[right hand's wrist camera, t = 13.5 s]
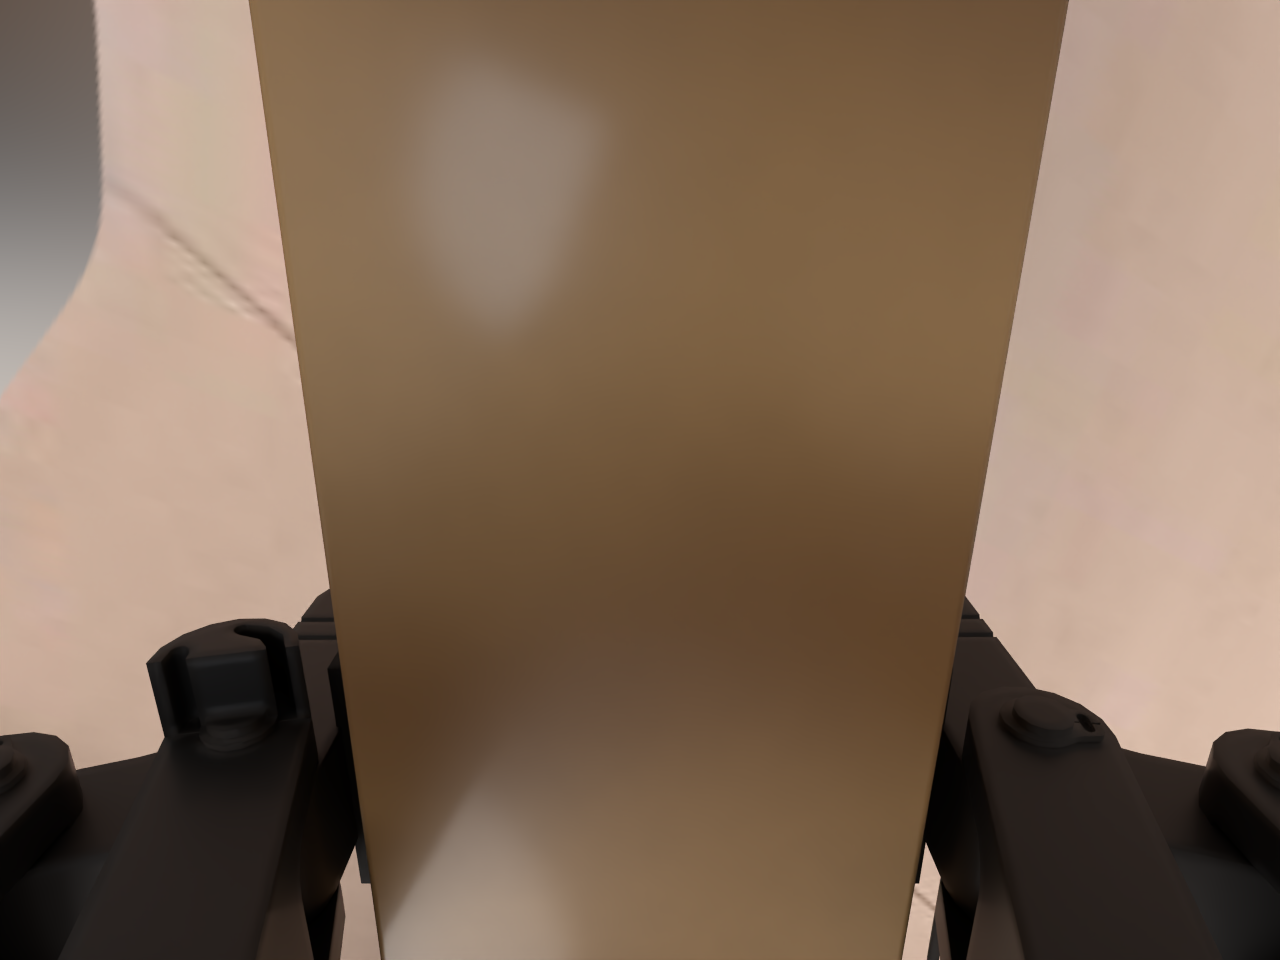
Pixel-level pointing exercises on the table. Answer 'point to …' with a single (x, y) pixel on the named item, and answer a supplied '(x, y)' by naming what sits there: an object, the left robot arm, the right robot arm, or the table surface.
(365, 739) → the post
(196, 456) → the table surface
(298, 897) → the right robot arm
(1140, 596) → the table surface
